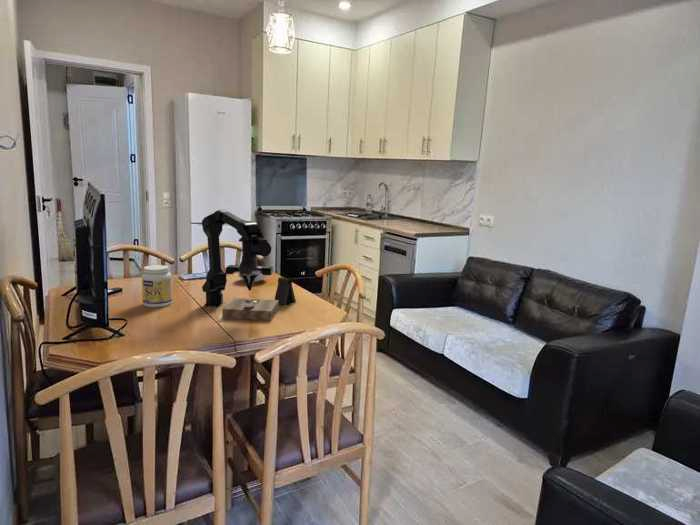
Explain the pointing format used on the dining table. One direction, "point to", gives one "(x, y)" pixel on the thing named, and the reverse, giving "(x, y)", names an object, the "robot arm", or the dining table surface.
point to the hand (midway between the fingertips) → (249, 290)
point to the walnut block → (258, 311)
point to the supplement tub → (156, 286)
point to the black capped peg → (248, 304)
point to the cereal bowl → (259, 277)
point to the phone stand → (285, 292)
